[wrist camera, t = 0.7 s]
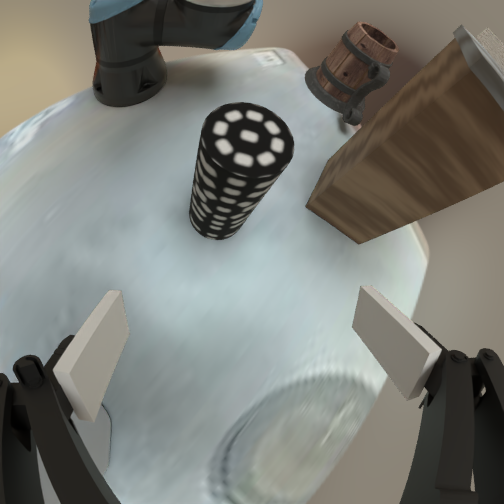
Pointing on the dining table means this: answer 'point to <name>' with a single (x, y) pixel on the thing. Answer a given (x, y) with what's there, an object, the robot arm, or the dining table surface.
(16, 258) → the dining table surface
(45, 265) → the dining table surface
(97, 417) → the plastic bottle
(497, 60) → the bar
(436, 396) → the robot arm
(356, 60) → the tankard
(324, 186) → the column
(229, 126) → the white-spotted black cylinder
